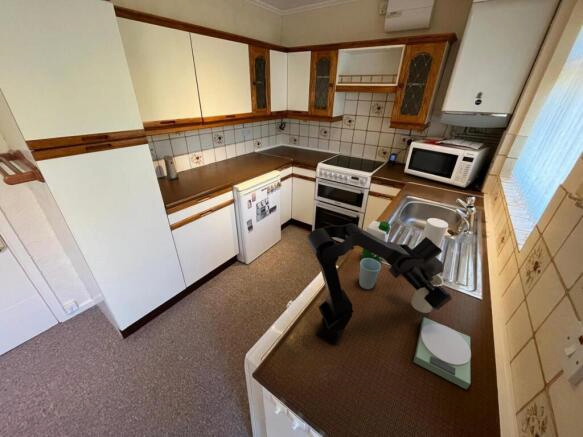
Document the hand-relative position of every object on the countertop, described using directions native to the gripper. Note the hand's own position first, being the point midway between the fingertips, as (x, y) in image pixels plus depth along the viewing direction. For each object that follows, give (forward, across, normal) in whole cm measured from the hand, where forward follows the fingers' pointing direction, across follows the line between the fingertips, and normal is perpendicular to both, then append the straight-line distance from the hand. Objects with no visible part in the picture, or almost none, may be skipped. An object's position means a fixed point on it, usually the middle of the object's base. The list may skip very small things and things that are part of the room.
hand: (430, 290), depth 81 cm
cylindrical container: (+16, +17, -3) cm, 23 cm away
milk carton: (+5, +30, +8) cm, 31 cm away
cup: (-2, +16, +16) cm, 23 cm away
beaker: (+4, 0, +6) cm, 7 cm away
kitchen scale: (+3, -15, +11) cm, 18 cm away
